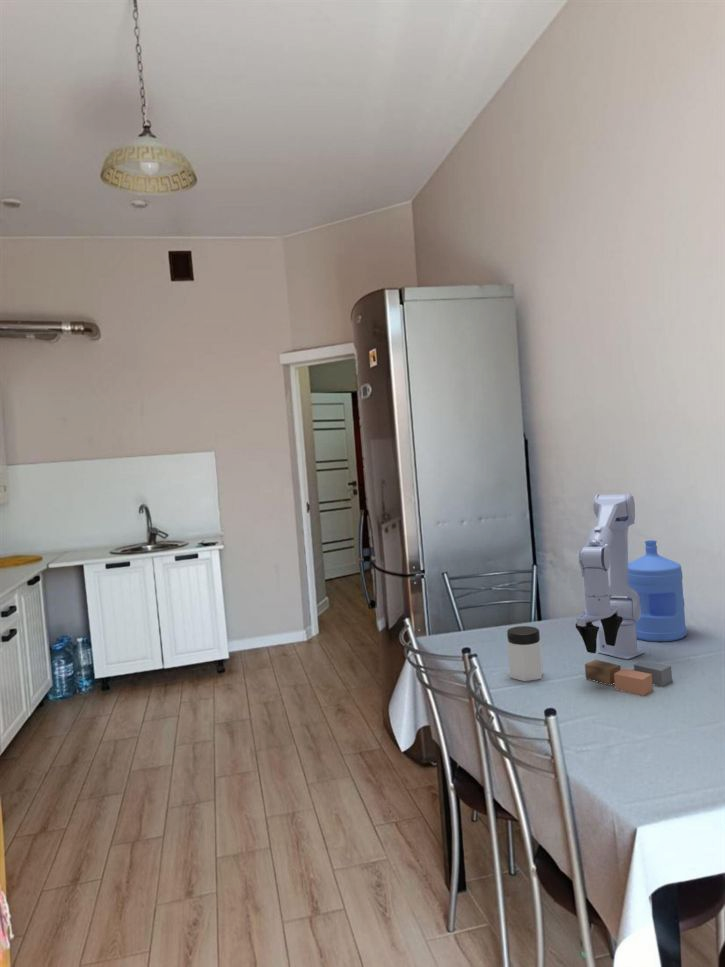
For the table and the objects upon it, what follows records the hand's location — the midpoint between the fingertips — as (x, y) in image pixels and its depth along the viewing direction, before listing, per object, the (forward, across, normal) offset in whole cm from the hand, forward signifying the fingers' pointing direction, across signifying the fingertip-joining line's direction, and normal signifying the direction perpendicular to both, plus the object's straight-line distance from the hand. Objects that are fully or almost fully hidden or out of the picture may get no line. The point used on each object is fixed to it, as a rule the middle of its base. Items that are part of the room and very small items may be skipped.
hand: (601, 648), depth 163 cm
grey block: (+8, -7, +9) cm, 14 cm away
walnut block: (+8, 0, 0) cm, 8 cm away
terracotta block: (+8, +1, +9) cm, 12 cm away
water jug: (+8, -41, -11) cm, 43 cm away
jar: (+8, +10, -16) cm, 20 cm away
